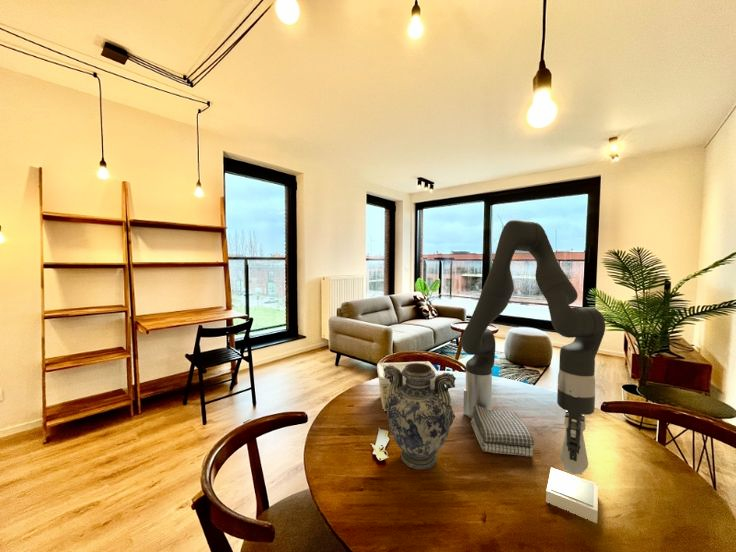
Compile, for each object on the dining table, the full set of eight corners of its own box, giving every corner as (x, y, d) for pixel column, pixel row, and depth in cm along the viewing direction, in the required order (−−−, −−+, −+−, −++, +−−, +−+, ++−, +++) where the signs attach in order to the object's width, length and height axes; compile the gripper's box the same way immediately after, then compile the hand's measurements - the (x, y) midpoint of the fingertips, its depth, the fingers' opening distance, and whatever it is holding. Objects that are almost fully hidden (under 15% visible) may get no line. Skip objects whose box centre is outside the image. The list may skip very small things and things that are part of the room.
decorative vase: (457, 445, 96) (457, 360, 94) (453, 488, 78) (453, 385, 76) (392, 433, 103) (390, 354, 101) (375, 471, 85) (373, 376, 83)
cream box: (379, 414, 116) (379, 377, 115) (376, 394, 132) (376, 362, 131) (440, 411, 117) (441, 374, 116) (430, 392, 133) (430, 360, 132)
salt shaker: (592, 479, 71) (594, 425, 70) (565, 475, 72) (567, 423, 71) (580, 462, 77) (582, 413, 76) (555, 459, 78) (557, 411, 77)
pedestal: (546, 502, 74) (546, 489, 74) (550, 477, 82) (551, 466, 81) (597, 523, 68) (597, 510, 67) (597, 495, 76) (597, 483, 75)
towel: (482, 456, 91) (483, 431, 91) (469, 423, 109) (470, 402, 109) (535, 459, 89) (536, 434, 89) (513, 425, 108) (513, 404, 107)
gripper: (560, 376, 81) (558, 437, 82) (554, 395, 70) (552, 466, 71) (595, 382, 76) (592, 448, 77) (595, 405, 65) (592, 480, 66)
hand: (573, 456), depth 74 cm, fingers closed on salt shaker, 3 cm apart
